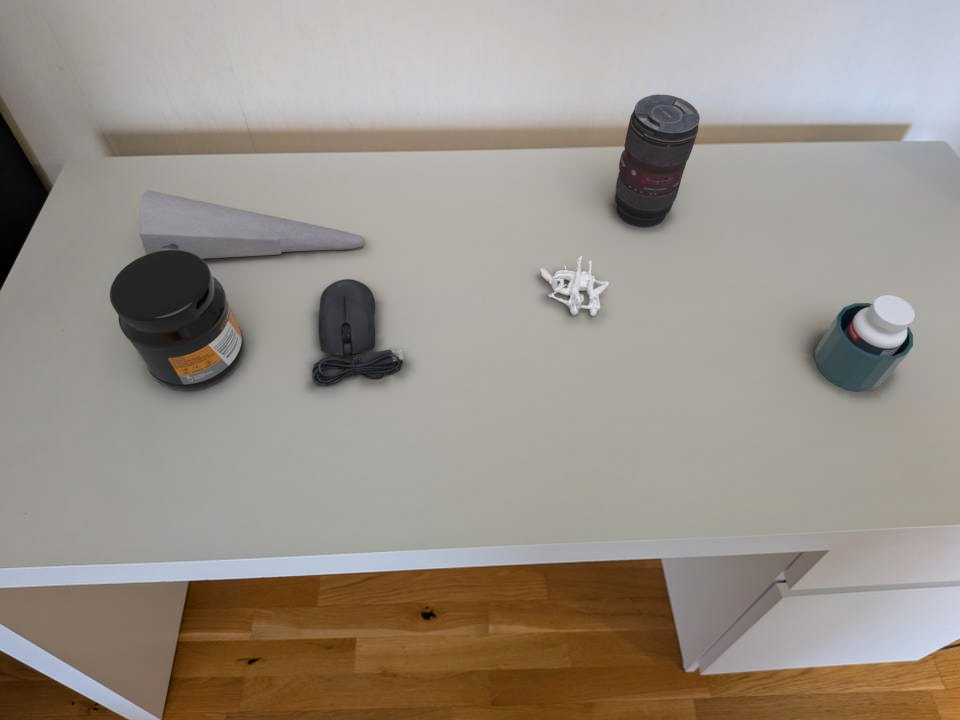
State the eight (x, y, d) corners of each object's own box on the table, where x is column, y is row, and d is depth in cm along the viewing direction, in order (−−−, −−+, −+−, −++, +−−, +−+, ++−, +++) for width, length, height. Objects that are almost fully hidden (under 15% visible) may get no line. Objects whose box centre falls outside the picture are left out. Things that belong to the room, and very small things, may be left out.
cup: (870, 336, 79) (895, 302, 74) (896, 391, 74) (925, 358, 69) (805, 338, 78) (827, 303, 74) (827, 392, 74) (852, 359, 69)
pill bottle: (819, 351, 76) (855, 298, 69) (855, 336, 78) (894, 283, 71) (852, 386, 74) (893, 335, 66) (889, 371, 75) (933, 319, 68)
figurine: (606, 322, 80) (539, 318, 80) (602, 273, 84) (538, 269, 84) (612, 306, 77) (543, 301, 77) (607, 256, 82) (541, 252, 82)
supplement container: (259, 370, 75) (228, 297, 65) (163, 410, 72) (115, 339, 62) (231, 307, 80) (198, 232, 71) (140, 341, 77) (93, 267, 68)
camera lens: (643, 240, 88) (670, 141, 76) (598, 207, 92) (617, 108, 80) (684, 214, 91) (716, 115, 79) (639, 183, 95) (664, 84, 83)
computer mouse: (388, 280, 83) (385, 257, 80) (406, 374, 75) (403, 353, 72) (305, 293, 82) (298, 270, 79) (314, 391, 73) (307, 370, 70)
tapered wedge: (361, 179, 88) (146, 176, 83) (364, 223, 83) (135, 223, 78) (362, 225, 94) (161, 225, 89) (364, 269, 89) (152, 271, 84)
